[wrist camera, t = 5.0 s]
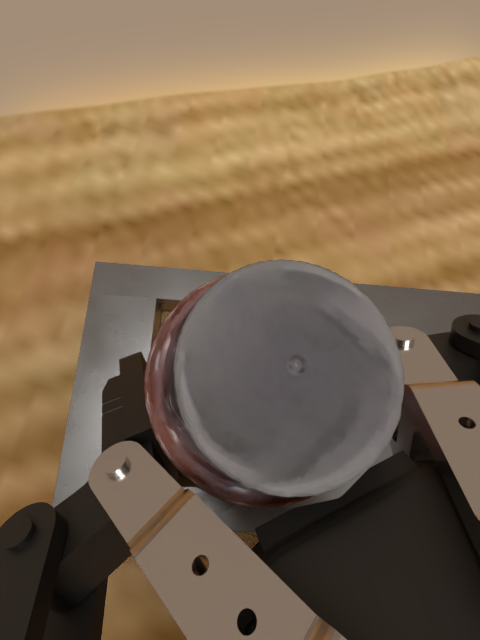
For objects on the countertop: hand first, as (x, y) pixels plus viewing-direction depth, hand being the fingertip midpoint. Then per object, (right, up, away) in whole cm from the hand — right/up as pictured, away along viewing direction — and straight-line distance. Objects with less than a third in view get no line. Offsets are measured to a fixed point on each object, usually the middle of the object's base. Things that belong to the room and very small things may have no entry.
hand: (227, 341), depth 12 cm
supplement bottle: (0, -3, +5) cm, 5 cm away
